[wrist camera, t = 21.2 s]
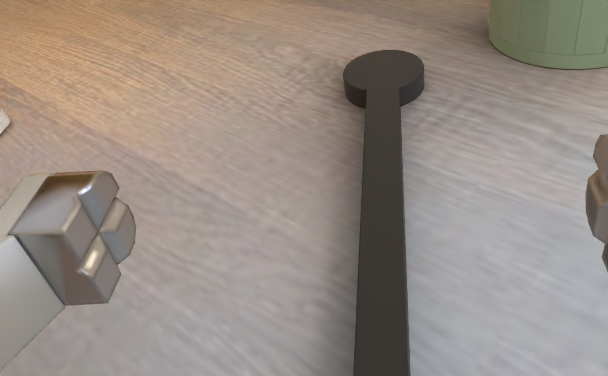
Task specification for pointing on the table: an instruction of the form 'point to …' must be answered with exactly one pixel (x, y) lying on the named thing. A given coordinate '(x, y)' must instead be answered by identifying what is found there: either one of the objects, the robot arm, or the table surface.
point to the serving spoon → (382, 210)
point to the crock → (551, 32)
